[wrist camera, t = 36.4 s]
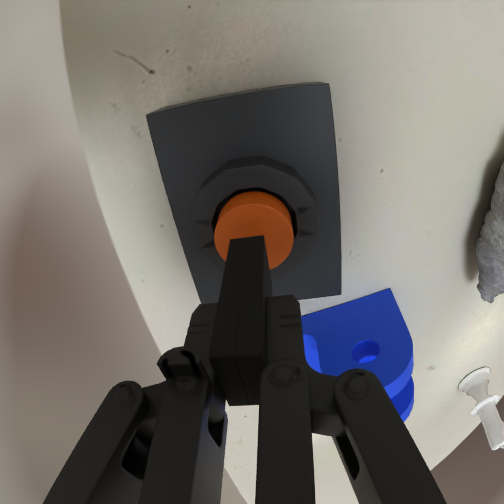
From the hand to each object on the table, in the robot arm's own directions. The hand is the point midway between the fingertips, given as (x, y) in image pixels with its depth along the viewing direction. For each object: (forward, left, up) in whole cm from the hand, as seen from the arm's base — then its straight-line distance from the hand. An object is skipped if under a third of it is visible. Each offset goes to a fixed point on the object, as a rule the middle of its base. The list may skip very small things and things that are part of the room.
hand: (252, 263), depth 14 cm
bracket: (+15, +2, -8) cm, 17 cm away
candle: (+29, +26, -8) cm, 40 cm away
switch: (0, 0, -4) cm, 4 cm away
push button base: (0, 0, -8) cm, 8 cm away
